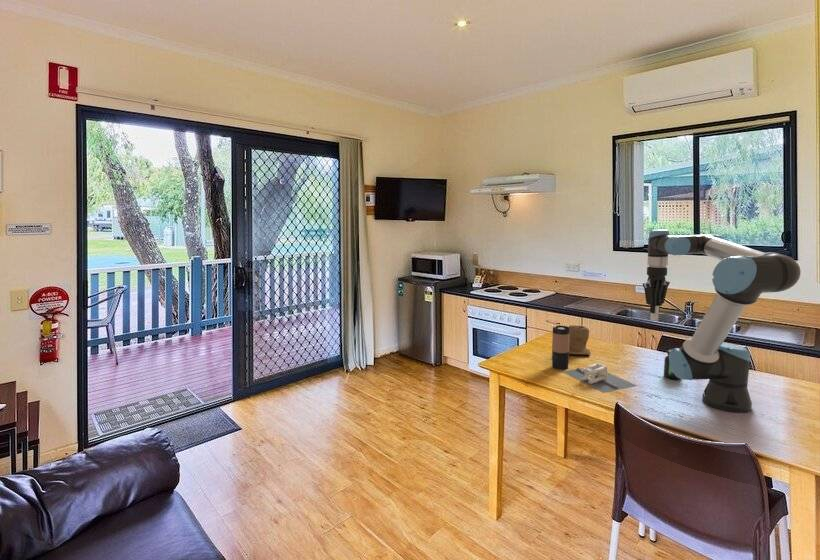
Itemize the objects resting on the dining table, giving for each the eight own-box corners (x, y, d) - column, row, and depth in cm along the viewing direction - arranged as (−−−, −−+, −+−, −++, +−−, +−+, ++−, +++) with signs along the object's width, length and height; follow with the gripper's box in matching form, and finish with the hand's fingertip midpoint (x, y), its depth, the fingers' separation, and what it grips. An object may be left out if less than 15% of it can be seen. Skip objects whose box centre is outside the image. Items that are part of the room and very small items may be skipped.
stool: (606, 366, 184) (590, 372, 182) (607, 379, 186) (591, 385, 183) (596, 362, 190) (580, 367, 188) (597, 374, 191) (581, 380, 189)
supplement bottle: (672, 381, 186) (674, 354, 184) (659, 375, 192) (661, 349, 190) (685, 379, 187) (687, 352, 186) (671, 373, 194) (673, 348, 192)
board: (637, 386, 181) (637, 383, 181) (603, 393, 175) (603, 390, 175) (593, 366, 205) (593, 364, 205) (561, 372, 200) (561, 369, 199)
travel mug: (569, 371, 201) (570, 329, 198) (552, 370, 202) (553, 329, 199) (567, 365, 208) (568, 325, 205) (550, 364, 210) (551, 325, 207)
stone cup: (588, 350, 230) (589, 323, 228) (592, 357, 218) (593, 329, 216) (558, 349, 233) (559, 322, 231) (561, 356, 222) (561, 328, 220)
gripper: (661, 264, 188) (658, 316, 191) (638, 266, 184) (635, 319, 187) (676, 266, 181) (673, 320, 184) (653, 268, 177) (650, 323, 180)
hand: (654, 320), depth 186 cm, fingers closed
